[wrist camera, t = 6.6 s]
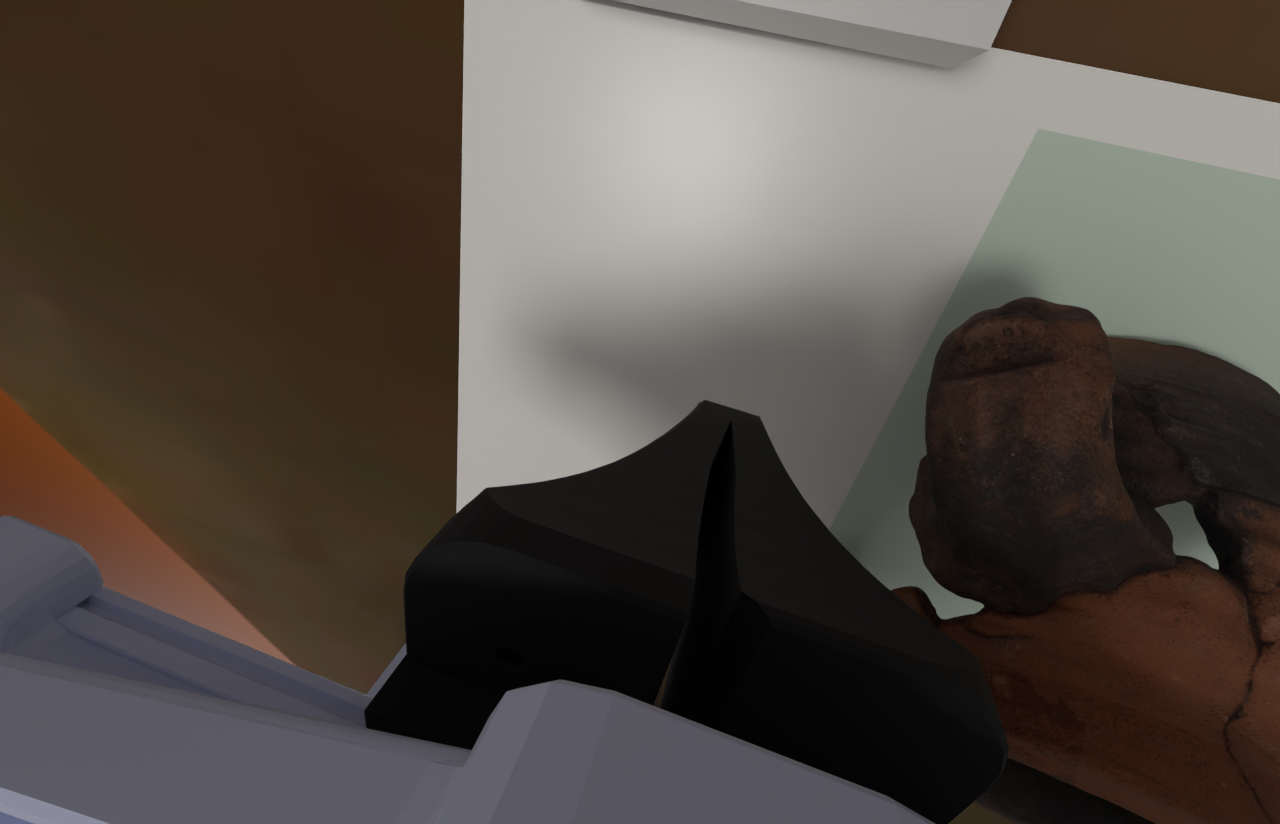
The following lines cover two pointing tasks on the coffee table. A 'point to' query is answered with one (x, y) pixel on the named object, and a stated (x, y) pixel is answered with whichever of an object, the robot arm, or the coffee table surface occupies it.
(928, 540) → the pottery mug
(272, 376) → the coffee table surface
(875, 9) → the white square holder
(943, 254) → the paper
